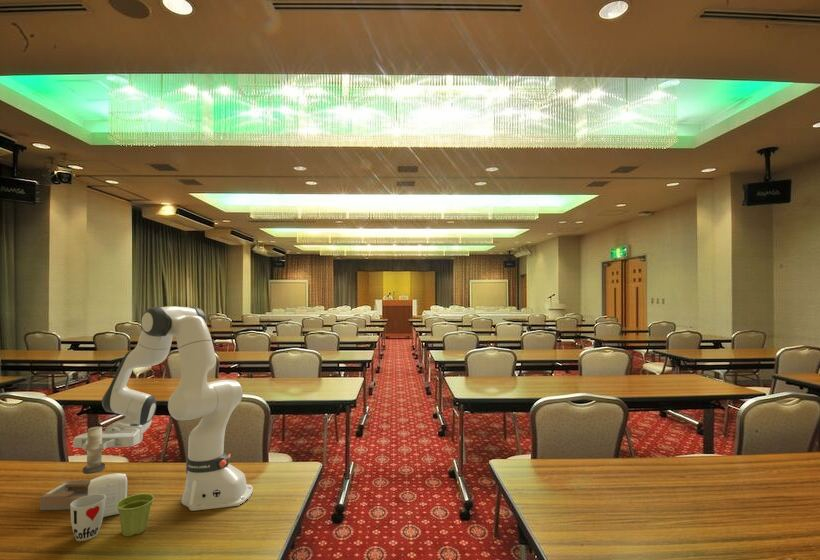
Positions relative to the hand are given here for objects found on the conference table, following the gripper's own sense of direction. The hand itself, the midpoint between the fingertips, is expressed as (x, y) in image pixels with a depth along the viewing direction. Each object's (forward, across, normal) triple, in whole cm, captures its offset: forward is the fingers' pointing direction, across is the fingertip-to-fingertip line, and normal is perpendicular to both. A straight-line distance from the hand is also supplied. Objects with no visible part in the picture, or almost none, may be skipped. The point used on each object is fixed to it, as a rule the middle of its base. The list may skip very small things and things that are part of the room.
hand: (93, 447), depth 142 cm
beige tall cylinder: (-1, 0, +8) cm, 8 cm away
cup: (+21, +13, +18) cm, 31 cm away
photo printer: (+9, +11, +18) cm, 23 cm away
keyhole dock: (-1, -4, +18) cm, 18 cm away
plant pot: (+19, +25, +18) cm, 36 cm away
